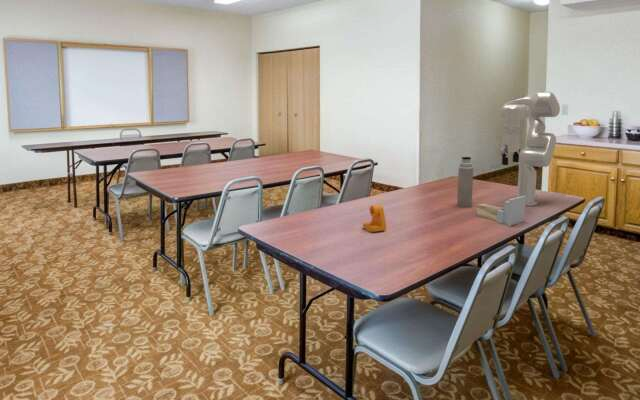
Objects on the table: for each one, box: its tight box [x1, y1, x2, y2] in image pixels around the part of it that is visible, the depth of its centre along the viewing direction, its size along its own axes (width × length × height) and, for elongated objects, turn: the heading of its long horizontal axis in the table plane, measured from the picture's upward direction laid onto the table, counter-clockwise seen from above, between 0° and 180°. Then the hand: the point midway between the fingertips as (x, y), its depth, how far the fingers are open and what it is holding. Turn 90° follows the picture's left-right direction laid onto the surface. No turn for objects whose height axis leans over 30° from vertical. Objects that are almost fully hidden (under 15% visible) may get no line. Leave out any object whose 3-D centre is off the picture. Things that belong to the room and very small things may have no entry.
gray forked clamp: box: [496, 196, 526, 227], centre depth 249 cm, size 8×13×13 cm, turn 128°
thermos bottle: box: [456, 156, 474, 208], centre depth 283 cm, size 8×8×28 cm
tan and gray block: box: [476, 203, 504, 221], centre depth 257 cm, size 5×16×6 cm, turn 38°
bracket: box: [362, 204, 387, 233], centre depth 240 cm, size 11×7×12 cm, turn 23°
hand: (510, 163), depth 261 cm, fingers open, 9 cm apart
